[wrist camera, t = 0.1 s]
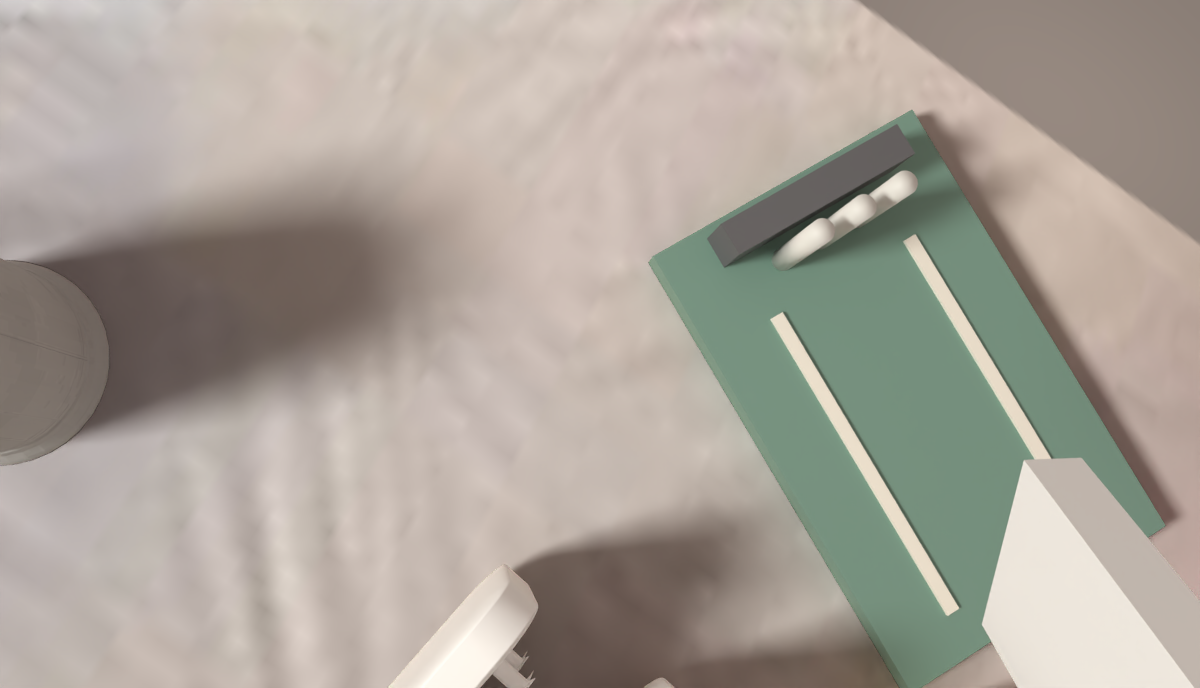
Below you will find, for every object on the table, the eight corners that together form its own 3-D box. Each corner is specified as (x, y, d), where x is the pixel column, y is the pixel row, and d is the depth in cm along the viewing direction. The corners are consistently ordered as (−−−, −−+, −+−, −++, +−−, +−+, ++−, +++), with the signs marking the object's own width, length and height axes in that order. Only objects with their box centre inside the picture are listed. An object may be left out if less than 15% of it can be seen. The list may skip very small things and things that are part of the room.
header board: (1146, 524, 52) (1255, 531, 45) (899, 687, 50) (971, 723, 43) (900, 119, 54) (967, 61, 46) (648, 262, 51) (676, 225, 44)
